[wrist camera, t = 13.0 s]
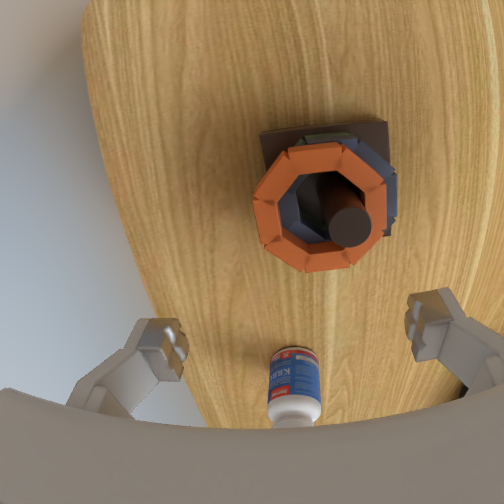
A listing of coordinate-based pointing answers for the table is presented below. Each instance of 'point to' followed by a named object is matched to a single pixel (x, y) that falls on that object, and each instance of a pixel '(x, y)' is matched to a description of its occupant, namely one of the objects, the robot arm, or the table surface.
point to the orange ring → (306, 163)
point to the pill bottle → (294, 388)
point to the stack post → (333, 182)
